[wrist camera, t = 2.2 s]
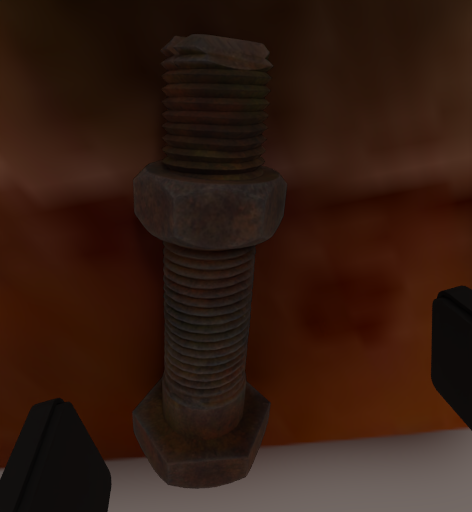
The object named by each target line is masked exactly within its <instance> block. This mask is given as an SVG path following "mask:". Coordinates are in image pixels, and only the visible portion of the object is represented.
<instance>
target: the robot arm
mask: <svg viewBox="0 0 472 512" xmlns="http://www.w3.org/2000/svg"><path fill="white" fill-rule="evenodd" d="M431 379H432V382H433V385H434V387H435V388H436V390H437V391H438V392H439V393H440V395H441V396H442V397H443V398H444V399H445V400H446V402H447V403H448V404H449V405H450V406H451V407H452V408H453V410H454V411H455V412H456V413H457V414H458V415H459V416H460V418H461V419H462V420H463V421H464V422H465V423H466V424H467V426H468V427H469V428H470V429H471V430H472V290H471V289H469V288H468V287H466V286H458V287H455V288H451V289H448V290H444V291H441V292H439V294H438V296H437V299H434V301H433V305H432V358H431ZM110 491H111V475H110V472H109V469H108V467H107V466H106V464H105V462H104V460H103V458H102V457H101V455H100V453H99V451H98V450H97V448H96V446H95V444H94V442H93V441H92V439H91V437H90V435H89V434H88V432H87V430H86V428H85V427H84V425H83V423H82V421H81V419H80V418H79V416H78V414H77V412H76V411H75V409H74V407H73V405H72V404H71V403H70V402H64V401H63V400H62V399H61V398H56V399H53V400H49V401H46V402H42V403H38V404H35V405H34V406H33V407H32V408H31V410H30V412H29V414H28V417H27V419H26V421H25V424H24V426H23V428H22V430H21V433H20V435H19V437H18V440H17V442H16V444H15V447H14V449H13V451H12V453H11V456H10V458H9V460H8V463H7V465H6V467H5V470H4V472H3V474H2V477H1V479H0V512H107V511H108V504H109V498H110Z"/></svg>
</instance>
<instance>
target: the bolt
mask: <svg viewBox="0 0 472 512" xmlns="http://www.w3.org/2000/svg"><path fill="white" fill-rule="evenodd" d="M160 51H161V52H162V53H163V54H164V55H165V56H166V57H167V59H165V60H164V61H163V62H162V63H161V65H162V66H163V67H164V68H165V69H166V70H167V72H166V73H164V74H163V75H161V76H162V78H163V79H164V80H165V81H166V82H167V83H168V84H167V85H166V86H165V87H163V88H162V91H163V92H164V93H165V94H166V95H167V96H168V97H167V98H166V99H164V100H163V101H161V102H162V103H163V104H164V105H165V106H166V107H167V108H168V110H166V111H165V112H163V113H162V115H163V116H164V117H165V118H166V119H167V120H168V122H166V123H165V124H163V125H162V127H163V128H164V129H165V130H166V131H167V132H168V133H167V134H166V135H165V136H164V137H162V139H163V140H164V141H165V142H166V143H167V144H168V145H166V146H165V147H164V148H162V150H163V151H164V152H165V153H166V154H167V155H168V156H167V157H165V158H164V159H162V161H157V162H153V163H150V164H148V165H147V166H146V167H145V168H144V169H143V170H142V171H141V172H140V173H139V174H138V175H137V176H136V177H135V178H134V179H133V190H134V212H135V215H136V216H137V217H138V219H139V220H140V222H141V223H142V225H143V226H144V227H145V228H146V229H147V230H148V232H150V233H151V234H152V235H153V236H155V237H157V238H159V239H160V240H163V245H164V246H165V247H164V249H163V254H164V258H163V263H164V267H163V271H164V276H163V281H164V282H165V283H164V287H163V289H164V290H165V292H164V295H163V297H164V299H165V300H164V318H165V324H164V327H165V331H164V335H165V339H164V342H165V346H164V350H165V356H164V359H165V361H164V365H165V368H164V373H163V377H162V378H161V379H160V380H159V381H158V383H157V384H156V385H155V386H154V387H153V388H152V390H151V391H150V392H149V393H148V394H147V395H146V397H145V398H144V399H143V400H142V401H141V402H140V404H139V405H138V406H137V407H136V408H135V409H134V411H133V412H132V414H133V429H134V433H135V436H136V438H137V440H138V442H139V445H140V447H141V448H142V450H143V452H144V454H145V455H146V457H147V459H148V460H149V462H150V464H151V465H152V467H153V469H154V470H155V472H156V473H157V474H158V475H159V476H160V478H161V479H163V480H164V481H165V482H166V483H167V484H168V485H172V486H178V487H183V488H210V487H217V486H221V485H225V484H229V483H232V482H234V481H237V480H240V479H242V478H244V477H246V476H247V474H248V472H249V471H250V469H251V467H252V464H253V462H254V459H255V457H256V455H257V452H258V450H259V448H260V445H261V442H262V439H263V436H264V433H265V430H266V426H267V423H268V418H269V411H270V402H269V401H268V400H267V399H266V398H265V397H264V396H262V395H261V394H260V393H259V392H258V391H257V390H256V389H255V388H254V387H252V386H251V385H250V384H249V383H248V382H247V381H246V374H245V365H246V357H247V343H248V335H249V327H250V317H251V315H250V312H251V300H252V289H253V280H254V263H255V256H254V255H255V254H256V248H255V246H256V244H260V243H262V242H264V241H266V240H268V239H269V238H271V237H272V236H273V235H274V233H275V231H276V230H277V228H278V227H279V225H280V222H281V220H282V218H283V216H284V208H285V199H286V191H287V183H286V182H285V180H284V179H283V178H282V176H281V175H280V174H279V173H278V172H277V171H275V170H273V169H271V168H268V167H265V166H261V165H262V164H263V163H264V162H265V161H264V159H263V158H262V157H260V155H261V154H263V153H264V152H265V151H266V150H265V149H264V148H263V147H262V146H261V144H262V143H263V142H264V141H265V140H267V139H266V138H265V137H264V136H263V135H262V134H261V133H262V132H264V131H265V130H266V129H267V128H268V127H267V126H266V125H264V124H263V123H262V122H263V121H264V120H265V119H266V118H267V117H268V116H269V115H268V114H267V113H266V112H264V111H263V110H264V109H265V108H266V107H267V106H268V105H269V104H270V103H269V102H268V101H267V100H266V99H265V98H264V97H265V96H266V95H267V94H268V93H269V92H270V91H271V90H269V89H268V88H267V87H266V86H265V85H266V84H267V83H268V82H269V81H270V80H271V79H272V78H271V77H270V76H269V75H268V74H267V73H266V72H267V71H268V70H270V69H271V68H272V67H273V65H272V64H271V63H270V62H269V61H268V60H267V59H268V57H269V54H270V52H269V51H268V50H267V48H266V47H265V46H264V44H263V43H257V42H251V41H245V40H240V39H233V38H226V37H220V36H213V35H207V34H192V35H190V36H188V37H180V36H174V37H173V38H172V39H171V40H170V41H169V43H168V44H167V45H165V46H164V47H163V48H162V49H161V50H160Z"/></svg>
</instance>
